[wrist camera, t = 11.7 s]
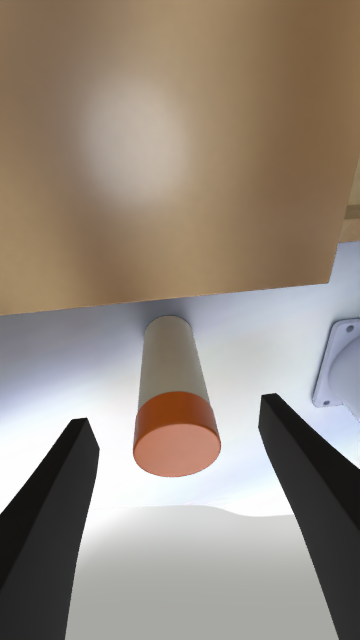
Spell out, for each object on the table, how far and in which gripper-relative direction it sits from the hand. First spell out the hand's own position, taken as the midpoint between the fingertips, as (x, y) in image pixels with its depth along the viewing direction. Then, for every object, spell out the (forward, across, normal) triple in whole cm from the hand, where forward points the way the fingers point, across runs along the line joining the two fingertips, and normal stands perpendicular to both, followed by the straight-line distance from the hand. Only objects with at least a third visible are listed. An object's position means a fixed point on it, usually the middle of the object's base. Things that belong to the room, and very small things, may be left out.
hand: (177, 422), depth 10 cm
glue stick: (+7, 0, 0) cm, 7 cm away
